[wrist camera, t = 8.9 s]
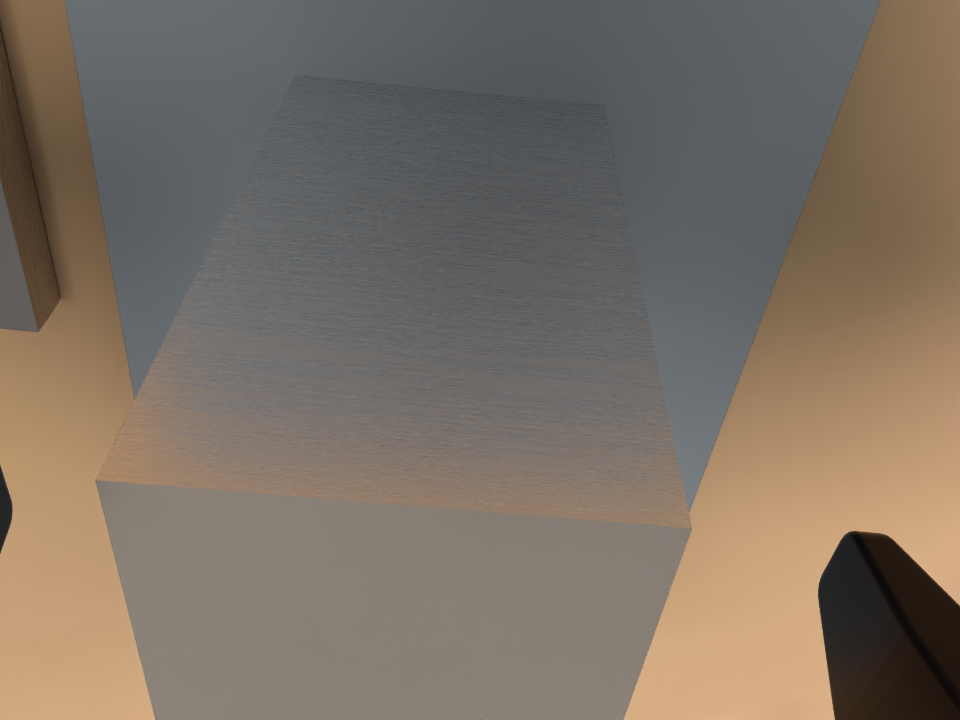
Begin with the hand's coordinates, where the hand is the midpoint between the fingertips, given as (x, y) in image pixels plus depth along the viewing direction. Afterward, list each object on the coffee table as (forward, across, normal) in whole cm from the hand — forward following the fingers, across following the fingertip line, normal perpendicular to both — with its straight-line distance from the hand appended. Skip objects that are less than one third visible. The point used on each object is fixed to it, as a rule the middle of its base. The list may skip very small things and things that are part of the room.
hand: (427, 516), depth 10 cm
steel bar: (+6, 0, 0) cm, 6 cm away
